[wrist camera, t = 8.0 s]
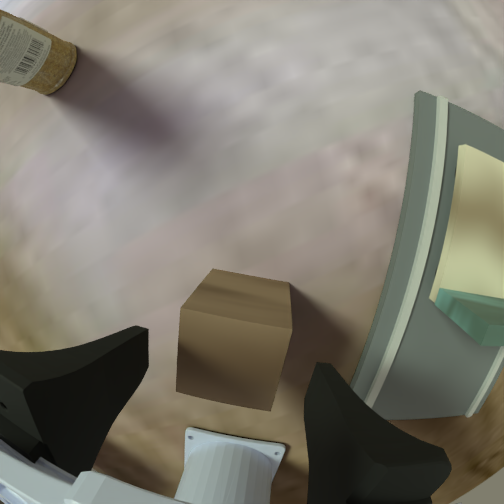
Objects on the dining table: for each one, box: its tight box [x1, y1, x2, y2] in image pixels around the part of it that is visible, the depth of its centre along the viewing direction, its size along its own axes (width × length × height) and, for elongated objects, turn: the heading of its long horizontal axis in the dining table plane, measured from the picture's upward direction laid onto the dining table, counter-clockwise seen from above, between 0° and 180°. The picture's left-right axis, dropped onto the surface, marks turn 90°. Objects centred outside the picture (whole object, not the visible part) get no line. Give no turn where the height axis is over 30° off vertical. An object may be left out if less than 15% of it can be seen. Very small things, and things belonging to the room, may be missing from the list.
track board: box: [350, 91, 504, 420], centre depth 15 cm, size 22×14×1 cm, turn 171°
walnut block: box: [176, 269, 293, 411], centre depth 15 cm, size 4×4×6 cm
